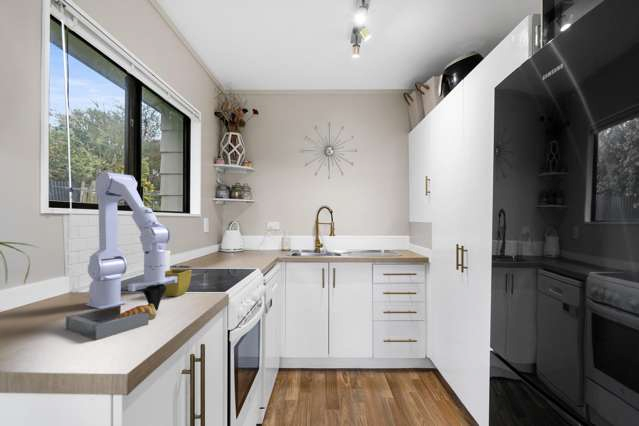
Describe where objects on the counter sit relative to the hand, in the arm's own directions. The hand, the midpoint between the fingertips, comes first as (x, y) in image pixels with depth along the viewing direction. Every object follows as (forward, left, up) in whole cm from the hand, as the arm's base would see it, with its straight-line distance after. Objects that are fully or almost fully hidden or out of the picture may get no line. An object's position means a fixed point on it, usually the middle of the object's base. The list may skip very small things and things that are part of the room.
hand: (153, 310), depth 94 cm
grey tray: (0, -13, -1) cm, 13 cm away
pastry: (+1, -5, -1) cm, 5 cm away
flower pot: (-15, +18, -1) cm, 23 cm away
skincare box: (-28, +20, -1) cm, 34 cm away
